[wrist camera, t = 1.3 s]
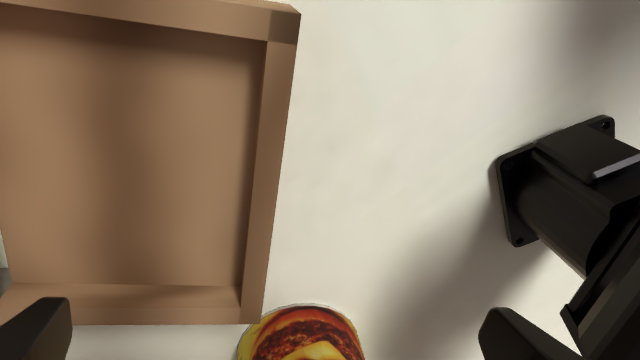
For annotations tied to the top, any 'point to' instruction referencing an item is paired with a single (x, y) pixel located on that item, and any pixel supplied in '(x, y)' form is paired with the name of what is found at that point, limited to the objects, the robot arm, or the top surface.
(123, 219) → the wooden tray
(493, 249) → the top surface
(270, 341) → the canned food
